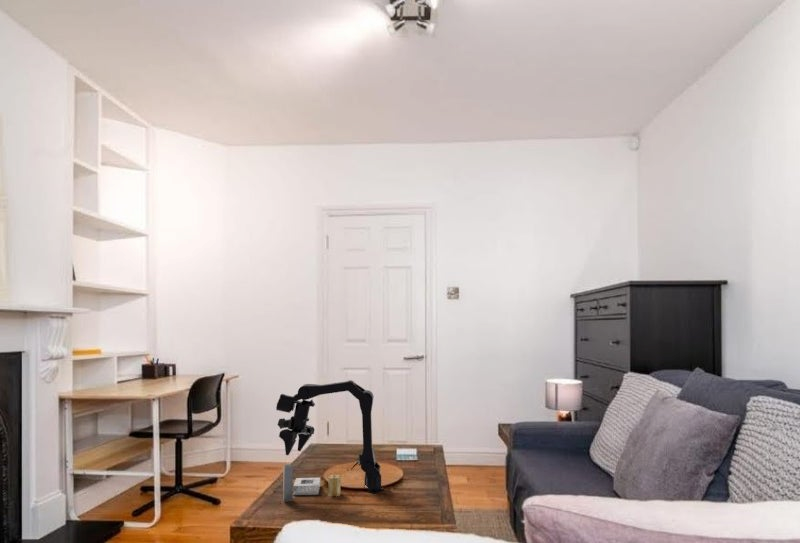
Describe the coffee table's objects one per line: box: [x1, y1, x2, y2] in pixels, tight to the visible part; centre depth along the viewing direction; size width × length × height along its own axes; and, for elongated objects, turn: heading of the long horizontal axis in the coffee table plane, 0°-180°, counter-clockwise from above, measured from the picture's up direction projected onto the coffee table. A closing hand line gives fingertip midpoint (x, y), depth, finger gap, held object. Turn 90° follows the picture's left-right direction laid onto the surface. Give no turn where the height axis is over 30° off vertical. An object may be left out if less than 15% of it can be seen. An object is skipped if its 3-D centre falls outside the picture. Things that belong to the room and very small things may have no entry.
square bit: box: [282, 463, 294, 503], centre depth 201 cm, size 3×3×13 cm
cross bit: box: [327, 474, 341, 498], centre depth 207 cm, size 5×5×7 cm
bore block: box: [293, 477, 321, 496], centre depth 212 cm, size 10×10×4 cm
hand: (293, 453), depth 214 cm, fingers open, 9 cm apart
